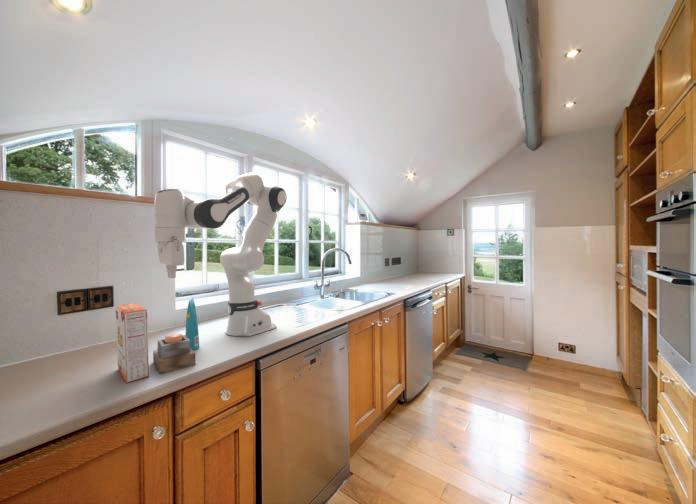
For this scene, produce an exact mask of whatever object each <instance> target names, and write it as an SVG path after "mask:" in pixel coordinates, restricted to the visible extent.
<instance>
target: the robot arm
mask: <svg viewBox="0 0 696 504" xmlns="http://www.w3.org/2000/svg"><path fill="white" fill-rule="evenodd" d="M223 193H224V195H223V196H222V197H220V198H217V199H215V198H210V199H205V200H199V201H196V200H193V199H191V198H190V197H189V196H187V195H186V194H185V193H184V192H183V191H182V189H178V188H168V189H166V188H165V189H162V190H158V191H157V192H156V193H155V197H154V206H153V211H154V212H153V214H154V217H155V224H154V242H155V243H157V253H158V255H157V256H158V259H159V264H164V265H165V266H166V272H167V278H169V279H175V278H176V277H177V276H176V273H177V269H178V267H179V266H184V265H185V248H184V243H186V242H187V233H186V232H187V229H191V230H192V229H193V230H194V229H219V228H221V227H222V226H224V224H225V222H226V221H227V219H228V218H229V217H230V215H231V214H232V213H234V212H235V211H236V210H238V209H239V208H240V207H242V206H243V205H245V204H246V203H247V204H248V205H252V206H256V207H257V209H256V212H255V213H254V214H253V216H252V217H251V219H250V220H249V222H248V224H247V225H246V227H245V229H244V230H243V232H242V237H243V239H242V244H241V245H240V246H239V247H231V248H227V249H225V250H223V251H222V252H221V254H220V257H219V262H220V265H221V266H222V267H223V270H224V272H225V275H226V279H227V285H228V302H227V314H228V318H227V319H228V321H227V327H226V331H225V334H226V335H227V336H232V337H233V336H234V337H235V336H236V337H237V336H238V337H241V336H242V337H243V336H244V337H245V336H246V337H252V336H254V335H258V334H261V333H264V332H268V331H271V330H275V329H277V325H276V323H274V322H272V317H271V315H270V314H269V313H268V312H266V311H265V310H263V309H262V308H260V307H259V306H262V304H263V301H261V300H256V299H255V283H254V280H252V278H251V276H250V274H249V273H251V272H255V271H258V270H260V269H261V268H262V267H263V265H264V264H265V257H264V254H263V251H264V246H265V244H266V241H267V240H268V238H269V236H270V234H271V233H272V231H273V229H274V226H275V224H276V220H277V218H278V212H280V210H281V209H283V208H284V206H285V204H286V203H287V193H286V190H285V189H284V188H283V187H281V186H278V185H273V184H267V183H265V182H264V179H263V177H262V176H261V175H260V174H258V173H257V172H248V173H244V174H241V175H238V176H236V177H233V178H232V179H230V180H229V181H227V183H225V184H224V187H223ZM186 228H187V229H186Z"/></svg>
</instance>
